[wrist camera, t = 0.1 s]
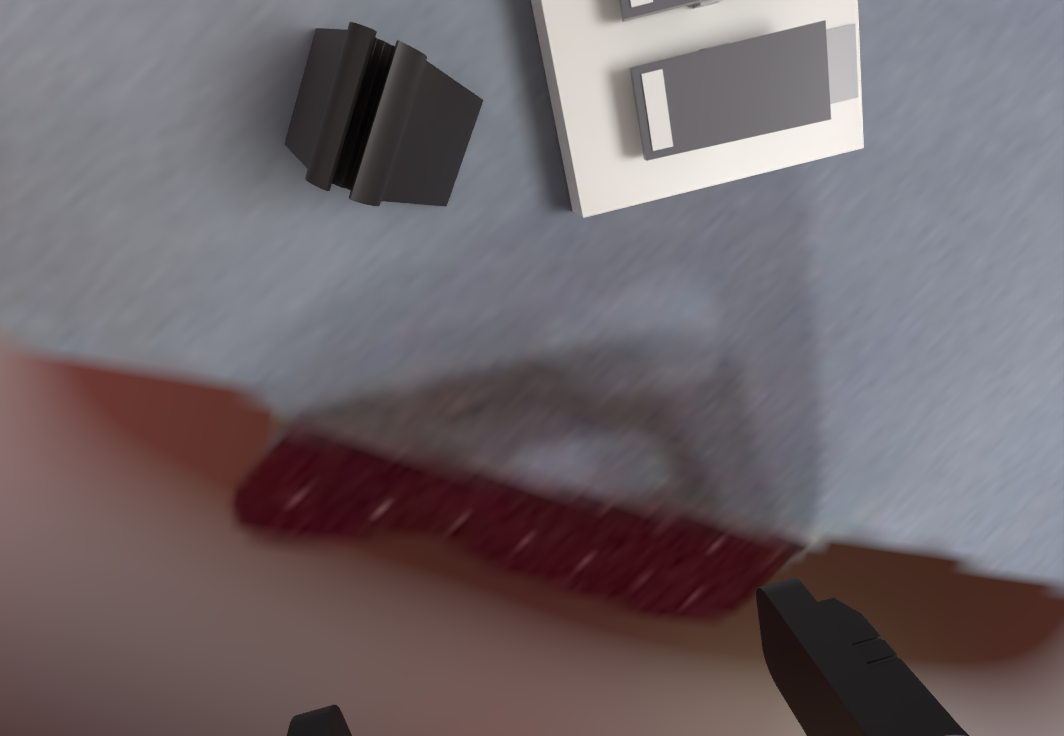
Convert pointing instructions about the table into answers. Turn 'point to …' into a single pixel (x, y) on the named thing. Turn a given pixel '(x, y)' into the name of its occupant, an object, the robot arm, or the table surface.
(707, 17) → the switch unit
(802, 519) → the table surface
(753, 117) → the block
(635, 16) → the block
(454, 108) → the phone stand
